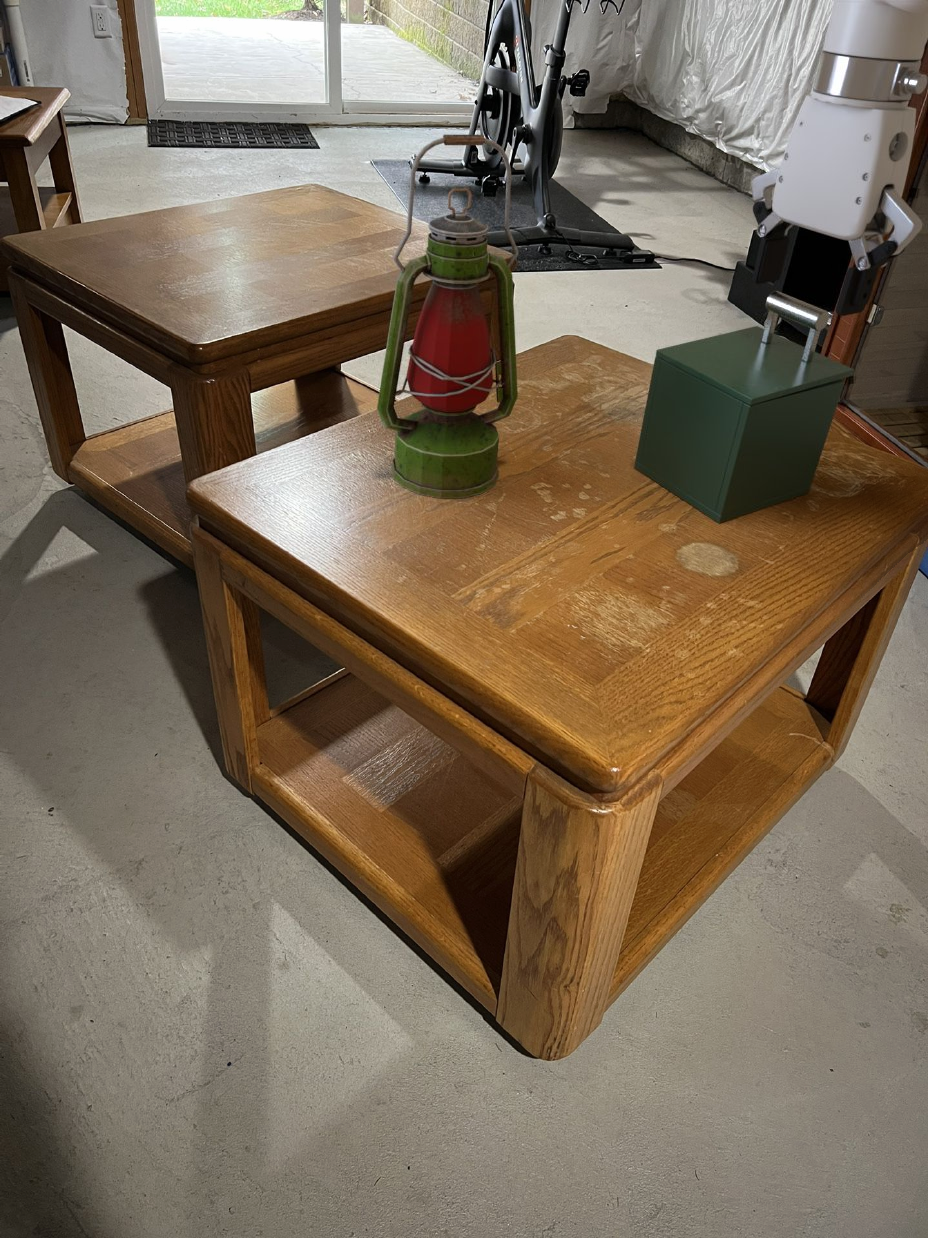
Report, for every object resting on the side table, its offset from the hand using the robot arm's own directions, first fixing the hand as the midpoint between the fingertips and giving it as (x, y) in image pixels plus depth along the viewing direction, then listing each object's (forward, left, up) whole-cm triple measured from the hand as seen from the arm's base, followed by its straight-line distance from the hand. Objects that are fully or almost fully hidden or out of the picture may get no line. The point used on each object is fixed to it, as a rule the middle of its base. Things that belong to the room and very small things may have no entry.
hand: (805, 296), depth 85 cm
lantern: (+14, +29, -18) cm, 37 cm away
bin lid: (0, +4, -6) cm, 7 cm away
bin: (0, +5, -18) cm, 19 cm away
